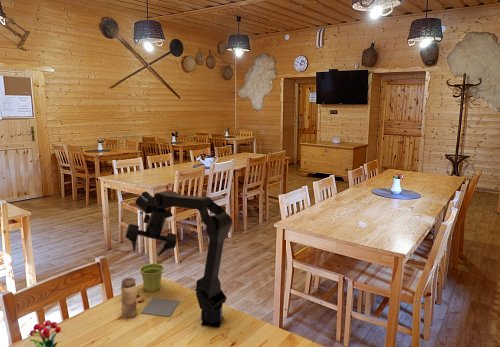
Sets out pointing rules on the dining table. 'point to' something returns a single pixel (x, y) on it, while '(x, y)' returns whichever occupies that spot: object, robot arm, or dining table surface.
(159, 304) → the slate coaster
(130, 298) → the oak pepper mill
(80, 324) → the dining table surface
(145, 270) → the plant pot
